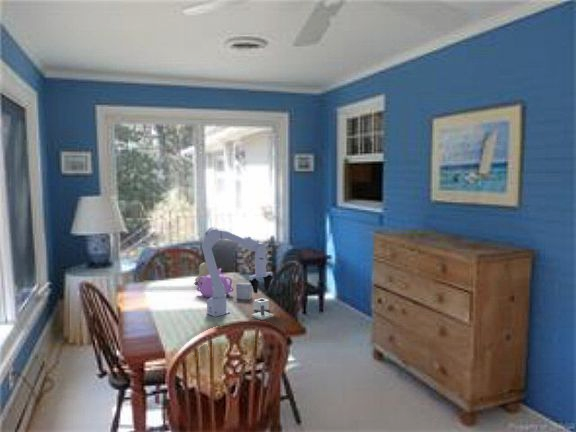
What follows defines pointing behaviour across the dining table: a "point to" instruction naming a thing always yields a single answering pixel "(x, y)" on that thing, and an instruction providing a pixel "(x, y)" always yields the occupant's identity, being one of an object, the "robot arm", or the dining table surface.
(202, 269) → the handbell
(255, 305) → the steel collar
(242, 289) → the medicine box
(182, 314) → the dining table surface
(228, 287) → the teapot
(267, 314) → the post stand
